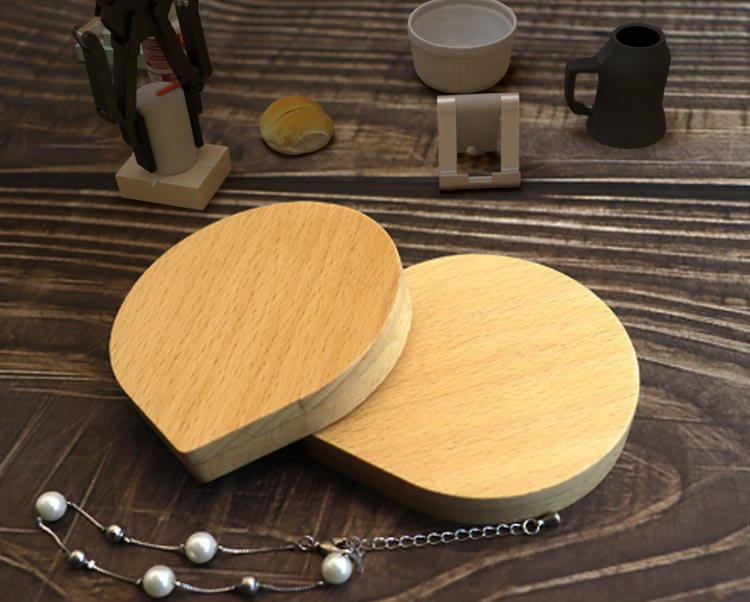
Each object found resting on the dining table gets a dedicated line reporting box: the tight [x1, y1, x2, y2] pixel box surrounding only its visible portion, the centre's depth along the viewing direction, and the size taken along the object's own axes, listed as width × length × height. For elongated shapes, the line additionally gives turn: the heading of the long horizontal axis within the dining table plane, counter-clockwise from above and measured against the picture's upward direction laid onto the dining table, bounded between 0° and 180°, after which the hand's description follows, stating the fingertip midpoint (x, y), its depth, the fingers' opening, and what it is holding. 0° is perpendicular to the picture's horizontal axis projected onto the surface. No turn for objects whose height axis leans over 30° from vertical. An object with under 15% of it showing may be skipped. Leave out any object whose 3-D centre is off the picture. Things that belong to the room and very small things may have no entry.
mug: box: [563, 22, 672, 149], centre depth 113 cm, size 12×9×11 cm
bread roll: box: [259, 95, 335, 156], centre depth 118 cm, size 8×9×4 cm
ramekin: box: [407, 0, 518, 95], centre depth 124 cm, size 13×13×7 cm
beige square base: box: [114, 142, 233, 211], centre depth 113 cm, size 10×10×3 cm
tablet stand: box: [436, 91, 522, 191], centre depth 109 cm, size 9×8×8 cm
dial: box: [136, 82, 197, 175], centre depth 109 cm, size 6×6×8 cm
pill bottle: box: [141, 2, 187, 86], centre depth 125 cm, size 6×6×11 cm
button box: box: [74, 28, 147, 70], centre depth 134 cm, size 10×8×4 cm
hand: (170, 154), depth 111 cm, fingers closed on dial, 6 cm apart
